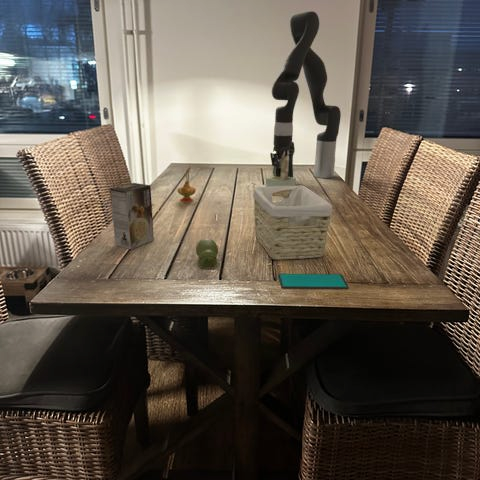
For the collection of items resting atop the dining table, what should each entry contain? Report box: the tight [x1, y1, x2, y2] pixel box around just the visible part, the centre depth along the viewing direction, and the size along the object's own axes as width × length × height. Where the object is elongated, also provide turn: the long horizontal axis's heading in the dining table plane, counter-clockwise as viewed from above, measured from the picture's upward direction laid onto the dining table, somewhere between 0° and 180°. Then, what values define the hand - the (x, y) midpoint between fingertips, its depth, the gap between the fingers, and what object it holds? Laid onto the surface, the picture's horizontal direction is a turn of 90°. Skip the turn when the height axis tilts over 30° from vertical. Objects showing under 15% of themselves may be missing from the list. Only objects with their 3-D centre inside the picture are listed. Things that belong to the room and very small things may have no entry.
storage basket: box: [252, 185, 333, 261], centre depth 121 cm, size 24×16×15 cm
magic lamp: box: [177, 168, 196, 203], centre depth 165 cm, size 7×18×11 cm, turn 0°
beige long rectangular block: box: [274, 156, 289, 181], centre depth 183 cm, size 4×4×14 cm
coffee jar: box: [271, 141, 296, 178], centre depth 198 cm, size 10×8×19 cm
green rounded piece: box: [195, 238, 219, 269], centre depth 111 cm, size 6×5×10 cm
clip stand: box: [253, 176, 308, 198], centre depth 185 cm, size 16×16×5 cm
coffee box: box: [109, 182, 155, 250], centre depth 120 cm, size 9×6×16 cm
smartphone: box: [278, 273, 350, 290], centre depth 101 cm, size 7×1×15 cm
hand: (281, 175), depth 184 cm, fingers closed on beige long rectangular block, 3 cm apart
